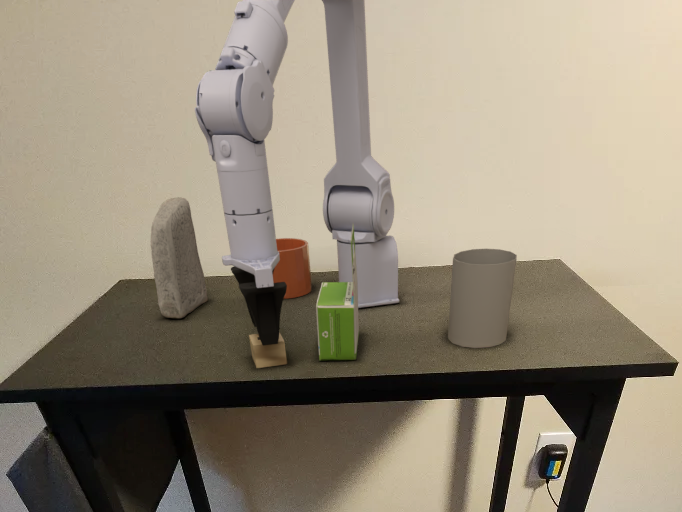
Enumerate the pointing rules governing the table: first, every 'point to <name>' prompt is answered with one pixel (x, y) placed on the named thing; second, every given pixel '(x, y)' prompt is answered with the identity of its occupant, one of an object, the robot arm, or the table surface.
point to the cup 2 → (481, 297)
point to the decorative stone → (176, 260)
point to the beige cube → (267, 352)
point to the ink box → (338, 317)
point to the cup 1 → (293, 267)
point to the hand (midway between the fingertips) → (265, 334)
